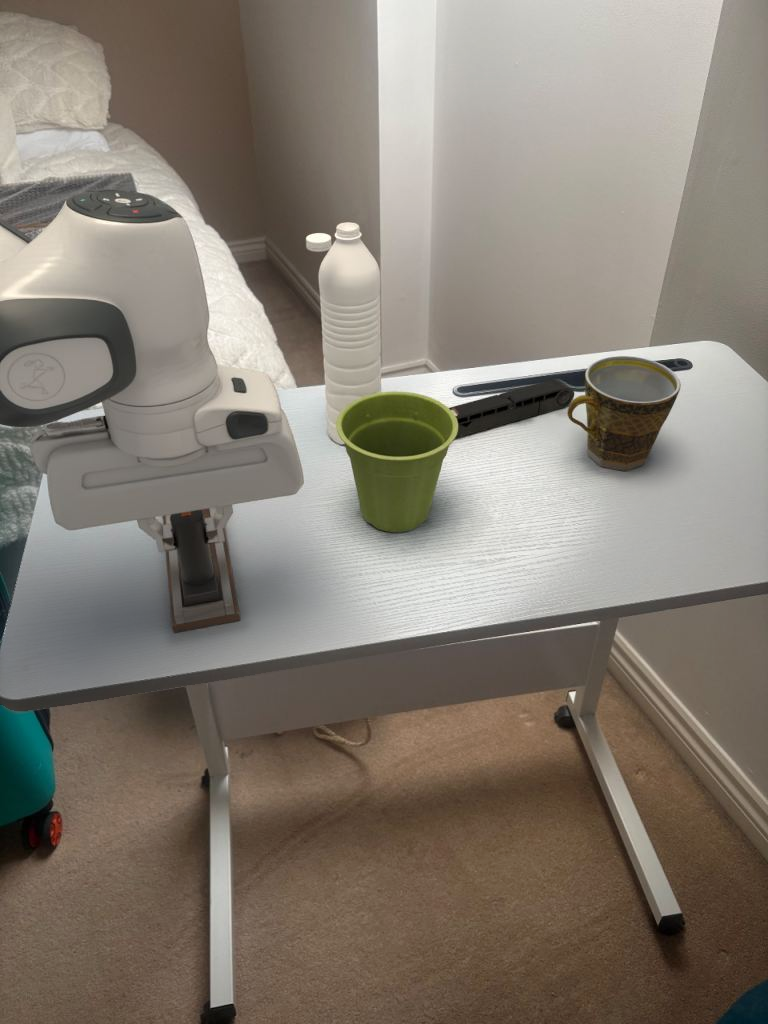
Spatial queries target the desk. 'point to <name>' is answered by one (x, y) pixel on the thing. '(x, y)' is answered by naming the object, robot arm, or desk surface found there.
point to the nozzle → (194, 558)
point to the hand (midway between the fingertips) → (192, 542)
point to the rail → (208, 612)
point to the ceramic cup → (625, 409)
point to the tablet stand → (512, 406)
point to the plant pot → (396, 454)
